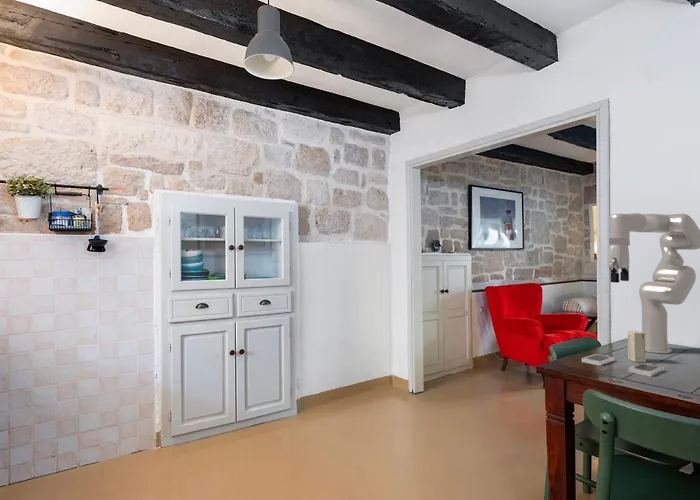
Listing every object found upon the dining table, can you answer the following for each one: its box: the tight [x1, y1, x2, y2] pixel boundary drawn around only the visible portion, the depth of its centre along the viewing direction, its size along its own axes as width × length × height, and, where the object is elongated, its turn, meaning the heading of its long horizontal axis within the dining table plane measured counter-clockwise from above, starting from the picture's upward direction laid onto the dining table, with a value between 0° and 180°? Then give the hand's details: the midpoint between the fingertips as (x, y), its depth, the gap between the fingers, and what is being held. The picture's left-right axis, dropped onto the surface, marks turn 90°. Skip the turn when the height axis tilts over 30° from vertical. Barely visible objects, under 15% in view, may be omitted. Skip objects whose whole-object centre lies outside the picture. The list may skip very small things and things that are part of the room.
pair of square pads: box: [581, 353, 665, 377], centre depth 169 cm, size 12×25×2 cm, turn 35°
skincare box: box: [627, 329, 647, 363], centre depth 177 cm, size 6×4×12 cm
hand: (619, 281), depth 184 cm, fingers open, 9 cm apart
